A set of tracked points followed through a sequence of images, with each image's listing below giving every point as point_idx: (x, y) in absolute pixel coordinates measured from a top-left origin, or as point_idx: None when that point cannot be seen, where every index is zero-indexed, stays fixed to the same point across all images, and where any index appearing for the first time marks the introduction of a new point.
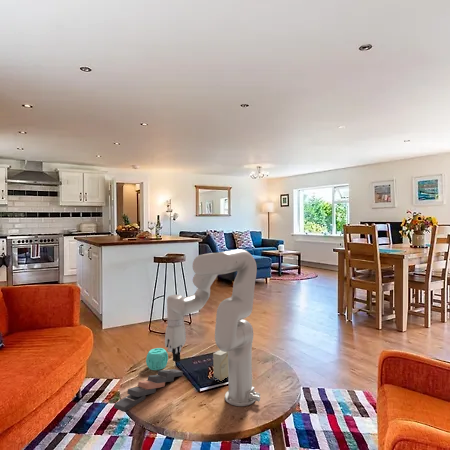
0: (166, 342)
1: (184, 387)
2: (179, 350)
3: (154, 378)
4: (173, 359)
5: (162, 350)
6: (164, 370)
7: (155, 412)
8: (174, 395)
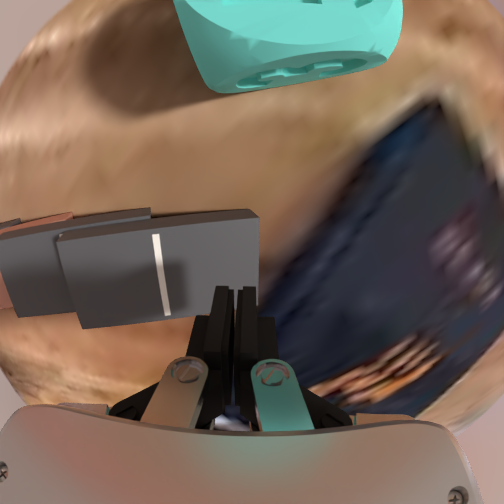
0: (1, 494)
1: (155, 364)
2: (252, 431)
3: (10, 291)
4: (196, 318)
5: (346, 3)
6: (117, 247)
7: (10, 351)
8: (87, 359)
